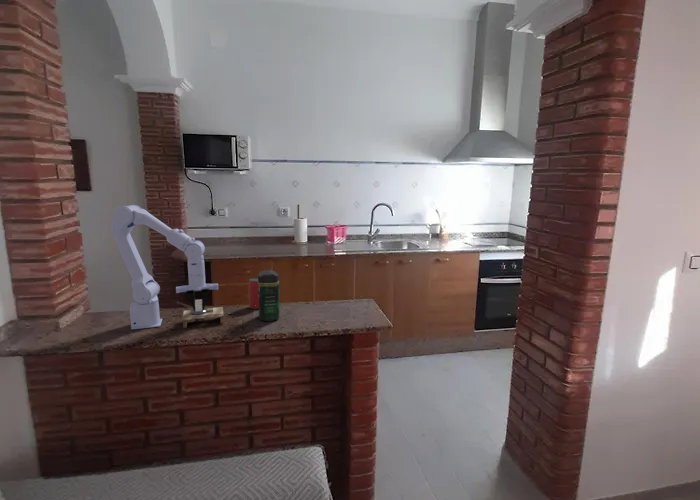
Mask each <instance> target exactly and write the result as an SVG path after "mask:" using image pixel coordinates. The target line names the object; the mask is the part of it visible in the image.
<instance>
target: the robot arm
mask: <svg viewBox="0 0 700 500" xmlns="http://www.w3.org/2000/svg"><path fill="white" fill-rule="evenodd" d="M110 218H111V220H112V221H111V231H110V232H111V236H112V238H113V240H114V243H115V244H116V247H117V249H118V251H119V253H120V256H121V257H122V260H123V262H124V265H125V266H126V268H127V272H128V273H129V276H130V278H131V279H132V280H131V283H130V284H131V285H130V287H131V289H132V299H133V300H134V302H130V304H129V319H130V330H139V329H140V330H141V329H147V328H148V329H149V328H150V329H151V328H156V327H157V328H158V327H161V325H162V321H163V318H161V317H160V316H161V315H160V314H161V313H160V305H159V298H158V295H159V293H160V292H161V291H160V290H161V287H160V285H159V283H158V282H156V281H155V279H154V277H153V276H152V275H151V274H149V273H148V271H147V268H146V267H145V263H144V262H143V260H142V257H141V256H140V253H139V251H138V248H137V246H136V244H135V242H134V239H133V238H132V234H131V233H132V230H133V229H134V227H135V226H136V225H145V226H147V227H149V228H151V229H152V230H153V231H156V232H158V233H159V234H161V235H162V236H164V237H165V238H166V242H167V243H169V244H171V245H172V246H174V247H175V248H177V249H178V250H180V251H182V252H183V253H184V256H186V258H187V273H188V275H187V276H188V285H181V286H176V287H175V294H180V293H186V296H187V298H188V299H189V301H190V303H191V306H192V309H193V310H194V311H195V300H196V298H195V292H201V299H202V310H204V308H206V307H205V305H206V301H207V298H208V296H209V293H210V291H211V290H217V291H219V283H206V269H205V266H206V265H205V260H204V259H205V258H204V253H205V251H206V247H205V244H204V243H203V242H202V241H201V240H198V239H197V240H196V238H195V237H191V236H190V235H188V234H186V233H185V231H184V230H183V229H179V228H171V227H170V226H168V225H167V224H165V223H164V222H162V221H161V220H159V218H157V217H156V216H154V215H153V214H151V213H150V212H149V211H148V210H146V209H144V208H142V207H140V206H139V205H137V204H130V205H120V206H117V207H116V208H115V209H114V211H113V213H112V214H111V215H110Z"/></svg>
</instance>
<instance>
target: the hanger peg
mask: <svg viewBox="0 0 700 500" xmlns="http://www.w3.org/2000/svg"><path fill="white" fill-rule="evenodd" d="M190 310H191V311H190V312H191V315H202V314H205V313H207V312H208V309H207V307H204V310H202V298H201V299H195V311H194V310H193V308H192V309H190ZM204 320H205V318H199V319H194V321H195V322H201V321H204Z"/></svg>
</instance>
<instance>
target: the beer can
mask: <svg viewBox="0 0 700 500" xmlns="http://www.w3.org/2000/svg"><path fill="white" fill-rule="evenodd" d="M248 281H249V282H248V286H247V287H248V307H249V308H250V309H252V310H259V298H258V277H253V278H250V279H249V280H248ZM255 305H256V306H255Z"/></svg>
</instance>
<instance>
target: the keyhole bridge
mask: <svg viewBox="0 0 700 500" xmlns="http://www.w3.org/2000/svg"><path fill="white" fill-rule="evenodd" d="M206 308H207V307H206ZM207 309H208V312H207V313H205V314H202V315H192V314H191V312H190V311H191V310H192V309H189V310H188V309H187V310H183V314H182V328H183V329H187V328H188V322H189V320H195V319H199V318H204V319H206V318H207V319H208V318H217V317H219V321H220V322H219V323H220V324H221V325H224V324H225V318H224V317H225V316H224V307H223V306H220V307H219V306H218V307H209V308H207Z"/></svg>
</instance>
